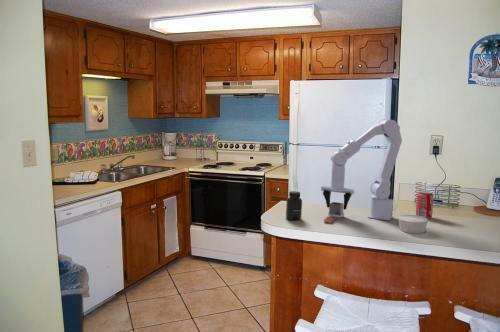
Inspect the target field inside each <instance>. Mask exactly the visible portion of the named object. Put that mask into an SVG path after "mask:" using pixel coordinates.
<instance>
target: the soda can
mask: <svg viewBox="0 0 500 332" xmlns="http://www.w3.org/2000/svg"><path fill="white" fill-rule="evenodd" d="M434 199H435V198H434V194H433V191H430V190H418V193H417V195H416V202H415V203H416V206H415V215H416V216H421V217H424V218H427V219H428V220H429V219H430V218H432V217H433V211H434Z"/></svg>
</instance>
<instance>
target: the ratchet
mask: <svg viewBox="0 0 500 332" xmlns="http://www.w3.org/2000/svg"><path fill="white" fill-rule="evenodd" d="M327 214H328V216H326V217H325V218H324V219H323V223H324V224H330V225H332V224H333V223H334V222H335V220H337V219H343V218H345V212H343V213H342V214H341V215H334V214H329V212H328V213H327Z"/></svg>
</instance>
